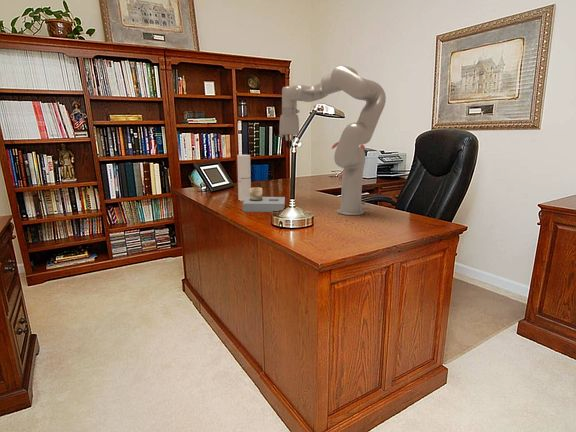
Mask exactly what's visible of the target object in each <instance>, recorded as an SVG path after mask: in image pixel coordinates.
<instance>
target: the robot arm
mask: <svg viewBox="0 0 576 432" xmlns="http://www.w3.org/2000/svg"><path fill="white" fill-rule="evenodd" d="M341 91H343V92H344V93H346V94H347V95H348V96H350V97H351V98H353V99H355V100H359V101H365V102H366V103H365V105H364V106H363V108H362V109H361V111H360V113H359V116H358V119H357V121H356V122H351V123H349V124H348V125H346V127H345V128H344V129H343V130H342V132H341V135H340V137H339V141H338V142H339V143H338V145H337V146H336V147H335V151H334V156H333V157H334V158H333V160H334V162H335V165H337V167H339V168H341V169H342V173H341V174H342V179H341V195H340V208H337V210H336V211H337V213H339V214H341V215H346V216H360V215H363V214H364V213H365V210H372V205H368V204H363V203H362V191H363V178H364V177H363V176H364V168H365V164H366V152H365V150H363V149H362V148H361V147H360V145H366V144H368V143H369V142H371V139H372V137H373V135H374V132H375V129H376V128H377V126H378V123H379V120H380V117H381V115H382V113H383V110H384V109H385V105H386V99H387V97H386V92H385V90H384V88H383V86H382V85H380V84H379V83H378V82H376V81H374V80H371V79H366V78H363V77H362V76H360V75H359V74H358V71H357V70H356V69H355V68H352V67H350V66H346V65H344V64H343V65H342V64H341V65H337V66H336V67H335V68H333V69H332V71H331V73H329V74H326V75H323V76H322V77H321V79H320V83H318V84H314V85H311V86H310V85H303V84H295V85H291V86H283V87H282V89H281V114H280V116H279V128H278V129H279V133H278V137H279V138H283V139H284V140H285V141H286V143H285V144H286V148H287V150H290V149H291V148H292V147H291V145H292V146H293V140H294V139H296V138H295V137H296V135H297V134H298V132H299V133H300V119H299V115H298V113H300V109H297V108H298V105H297V104H298V102H303V103H304V102H305V103H311V102H315V101H318V100H319V101H320V100H322V99H324V98H326V97H328V96H329V95H331V94H335V93H339V92H341ZM288 136H290V139H289V137H288Z"/></svg>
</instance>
